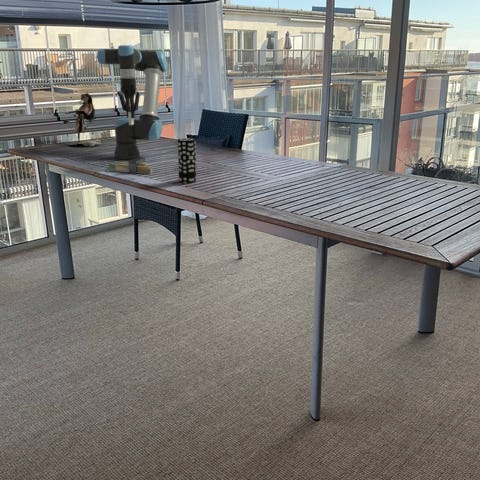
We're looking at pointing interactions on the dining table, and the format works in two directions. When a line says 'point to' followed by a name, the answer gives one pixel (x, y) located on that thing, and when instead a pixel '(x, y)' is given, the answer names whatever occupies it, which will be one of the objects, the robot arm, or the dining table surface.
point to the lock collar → (133, 164)
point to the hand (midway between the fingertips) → (131, 124)
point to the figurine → (86, 113)
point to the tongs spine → (125, 168)
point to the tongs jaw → (128, 163)
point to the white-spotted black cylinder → (187, 160)
